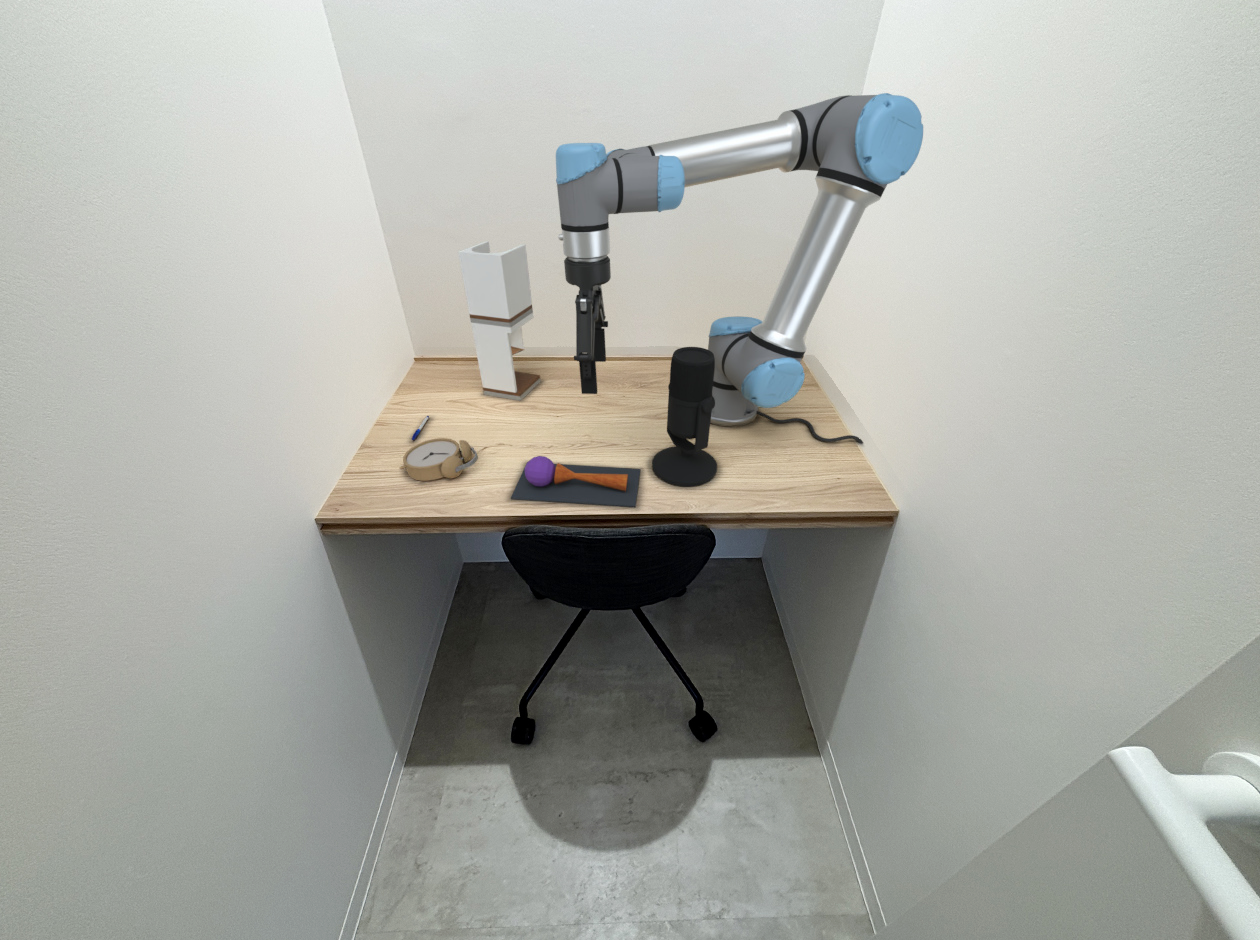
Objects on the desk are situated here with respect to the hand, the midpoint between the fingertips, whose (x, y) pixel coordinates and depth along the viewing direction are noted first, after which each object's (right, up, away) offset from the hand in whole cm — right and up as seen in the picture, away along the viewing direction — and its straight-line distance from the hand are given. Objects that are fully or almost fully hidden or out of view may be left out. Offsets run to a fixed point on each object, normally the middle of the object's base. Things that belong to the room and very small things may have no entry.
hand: (594, 376), depth 94 cm
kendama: (-4, -21, +5) cm, 22 cm away
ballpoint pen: (-42, -8, +23) cm, 49 cm away
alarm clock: (-32, -17, +11) cm, 38 cm away
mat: (-4, -20, +6) cm, 22 cm away
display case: (-25, +4, +40) cm, 47 cm away
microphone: (+18, -17, +11) cm, 27 cm away
